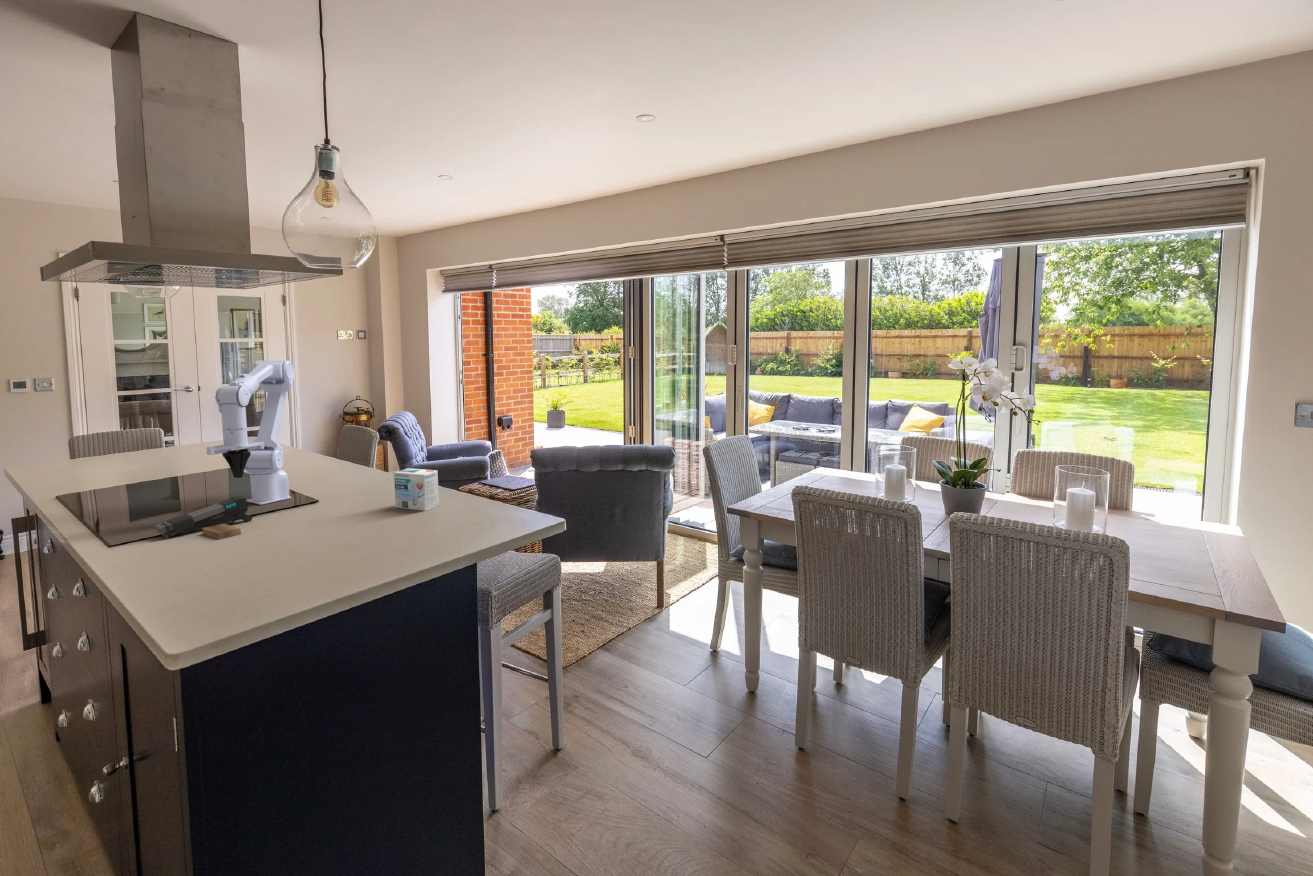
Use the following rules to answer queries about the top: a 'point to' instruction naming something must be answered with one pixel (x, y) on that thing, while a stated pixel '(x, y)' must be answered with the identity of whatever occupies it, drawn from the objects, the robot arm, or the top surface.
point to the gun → (206, 517)
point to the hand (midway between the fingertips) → (238, 477)
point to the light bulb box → (416, 489)
